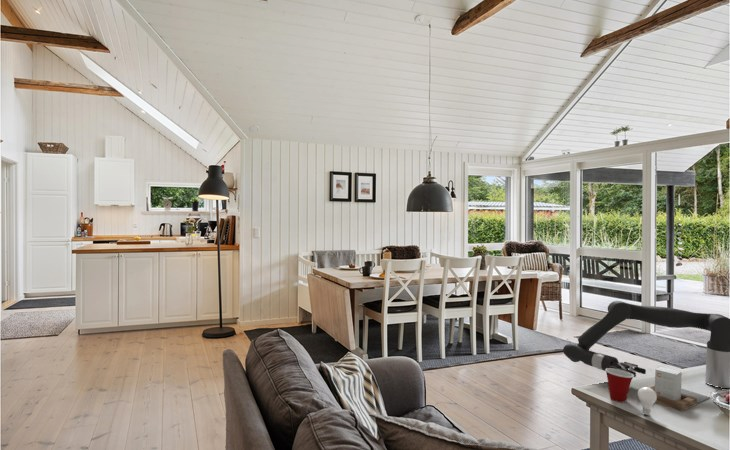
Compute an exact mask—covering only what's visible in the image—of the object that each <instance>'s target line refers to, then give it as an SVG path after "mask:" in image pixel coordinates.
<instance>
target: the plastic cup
mask: <svg viewBox="0 0 730 450" xmlns="http://www.w3.org/2000/svg"><path fill="white" fill-rule="evenodd" d="M604 372H606V374H605V375H606V378H607V385H608V387H607V388H608V390H609V391H608V393H609V397H610V399H611V400H612V401H615V402H620V403H625V402H626V401H627V398H628V395H629V390H630V387H631V383H632V381H633V379H634V378H635V377H634V375H633V374H631V373H629V372H626V371H623V370H619V369H613V368H606V369H605V371H604Z"/></svg>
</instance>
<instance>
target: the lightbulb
mask: <svg viewBox="0 0 730 450" xmlns="http://www.w3.org/2000/svg"><path fill="white" fill-rule="evenodd" d="M637 398H638V399H639V401H640V403H641V406H642V414H643V413H644V414H646V415H649V416H651V413H652V411H651V409H652V408H653V405H654V404H655V403H656V400H657V395H656V393H655V391H654V390H653V389H651V388H650V387H649V386H648V387H647V386H642V387H640V388H639V389H638V391H637ZM644 414H643V415H644ZM646 415H645V416H646Z"/></svg>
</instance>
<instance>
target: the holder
mask: <svg viewBox="0 0 730 450" xmlns="http://www.w3.org/2000/svg"><path fill="white" fill-rule="evenodd" d="M649 388H651V389H653V390H654V391H655V385H653V386H650V387H649ZM655 403H656V404H659V405H662V406H665V407H668V408H670V409H674V410H676V411H679V412H683V411H685V410H687V409H690V408H691V407H694V406H696V405H697V398H694V397H691V396H688V395H684V394H681V400H680V401H674V400H671V399H668V398H665V397H662V396H659V395H657V400H656V402H655Z"/></svg>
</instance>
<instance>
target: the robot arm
mask: <svg viewBox="0 0 730 450" xmlns="http://www.w3.org/2000/svg"><path fill="white" fill-rule="evenodd" d="M626 320H636V321H641V322H644V323H648V324H651V325H656V326H660V327H667V328H673V329H675V328H676V329H680V328H681V329H683V328H693V329H700V330H703V331H709V332H710V337H709V340H707V342H706V353H705V355H706V357H705V358H706V359H705V360H706V361H705V375H704V376H705V379H704V381H705V382H706V383H709V384H712V385H714V386H718V387H722V388H729V389H730V318H729V317H727V316H724V315H723V314H718V313H705V312H704V313H701V312H694V311H693V312H692V311H689V310H684V309H678V308H672V307H666V306H655V305H654V306H653V305H639V304H632V303H628V302H626V301H625V302H624V301H620V300H615V301H612V302H610V303H609V304H608V306H607V314H605V316H603V317H602V318H601V319H600V320H599V321H597V322H596V323H594V324H593V325H591V326H590V327H589V328H587V329H586V330H585V331H584V332H583V333H581V335H580V336H578V338H577V342H578V343H577V345H576V344H572V343H568V344H566V345H564V346H563V349H562V351H563V354H564V356H565V357H566V358H567V359H569V360H570V361H571V362H573V363H579V362H582V363H583V364H585V365H587V366H590V367H593V368H596V369H597V370H601V371H604V372H606V371H605V369H606V368H613V369H619V370H623V371H626V372H629V373H631V374H633V375H634V377H633V378H636V377H637V373H639V374H643V375H646V373H647V372H646V371H647V370H646V369H645V368H642V367H639V365H638V364H635V363H631V362H627V361H624V362H623V361H621V362H619V359H618V358H617V357H616V356H611V355H608V354H605V353H601V352H596V351H592V350H590V349H591V348H592V347H593V346H594V345H596V343H598V342H599V341H600V340H601V339H602V338H603V337H604V336H605V335H606V334H608V332H610V331H611V330H612V329H613V328H615V327H617V326H618V325H619V324H621V323H622V322H624V321H626ZM705 382H704V383H705ZM706 383H705V384H706ZM722 388H721V389H722Z"/></svg>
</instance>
